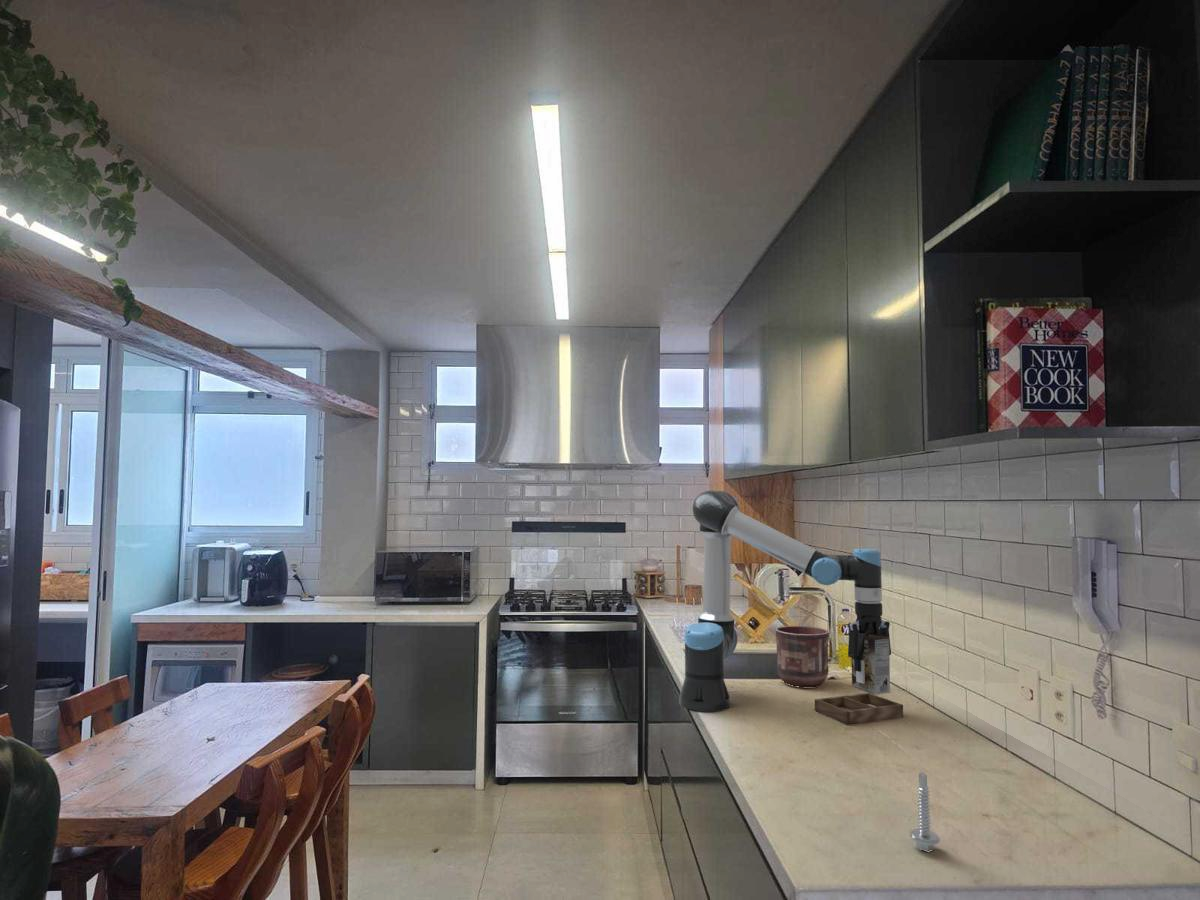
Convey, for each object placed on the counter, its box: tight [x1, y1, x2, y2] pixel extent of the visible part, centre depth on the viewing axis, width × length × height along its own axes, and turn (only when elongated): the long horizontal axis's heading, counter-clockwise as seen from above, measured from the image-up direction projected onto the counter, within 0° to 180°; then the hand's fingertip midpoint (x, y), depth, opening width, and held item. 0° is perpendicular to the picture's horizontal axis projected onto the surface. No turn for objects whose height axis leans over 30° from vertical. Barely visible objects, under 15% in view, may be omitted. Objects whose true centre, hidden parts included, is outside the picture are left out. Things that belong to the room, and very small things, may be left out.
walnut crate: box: [814, 692, 904, 726], centre depth 198 cm, size 20×14×4 cm
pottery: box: [775, 625, 830, 688], centre depth 232 cm, size 18×18×18 cm
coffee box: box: [850, 633, 891, 696], centre depth 200 cm, size 9×6×16 cm
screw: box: [909, 771, 941, 851], centre depth 120 cm, size 13×5×5 cm
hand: (870, 681), depth 200 cm, fingers closed on coffee box, 7 cm apart
